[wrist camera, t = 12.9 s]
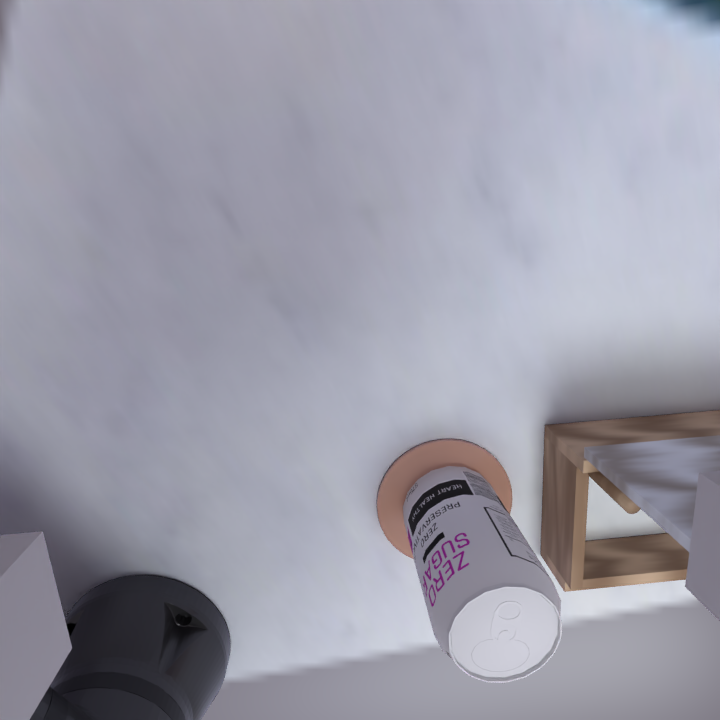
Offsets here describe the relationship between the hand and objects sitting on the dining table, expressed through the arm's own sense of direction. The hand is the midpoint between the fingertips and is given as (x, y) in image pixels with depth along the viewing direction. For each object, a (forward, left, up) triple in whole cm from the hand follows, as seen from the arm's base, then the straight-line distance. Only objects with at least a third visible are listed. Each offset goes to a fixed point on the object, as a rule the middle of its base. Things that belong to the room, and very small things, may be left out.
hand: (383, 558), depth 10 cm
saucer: (+8, -18, -32) cm, 37 cm away
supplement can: (+8, -18, -31) cm, 37 cm away
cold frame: (+27, -18, -32) cm, 45 cm away
